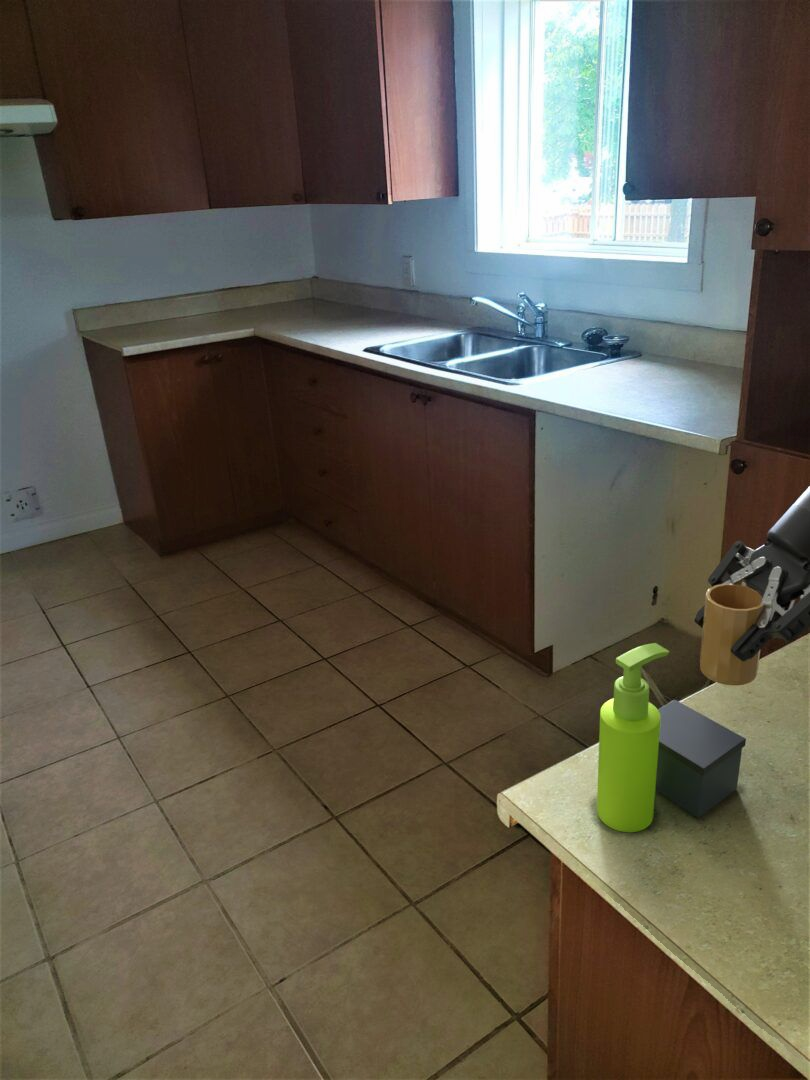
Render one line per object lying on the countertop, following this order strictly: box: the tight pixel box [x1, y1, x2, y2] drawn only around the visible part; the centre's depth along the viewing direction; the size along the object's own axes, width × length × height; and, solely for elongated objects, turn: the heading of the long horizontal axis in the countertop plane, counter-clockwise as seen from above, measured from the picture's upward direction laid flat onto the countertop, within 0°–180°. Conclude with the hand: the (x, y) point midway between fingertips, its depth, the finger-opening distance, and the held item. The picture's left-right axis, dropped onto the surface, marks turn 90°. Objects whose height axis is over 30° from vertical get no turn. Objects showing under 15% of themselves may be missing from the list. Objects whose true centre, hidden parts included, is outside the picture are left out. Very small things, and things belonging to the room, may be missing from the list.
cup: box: [699, 584, 763, 687], centre depth 90 cm, size 6×6×10 cm
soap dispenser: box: [596, 642, 671, 833], centre depth 84 cm, size 6×7×20 cm
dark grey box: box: [655, 699, 747, 819], centre depth 90 cm, size 9×7×7 cm
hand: (718, 640), depth 90 cm, fingers closed on cup, 6 cm apart
